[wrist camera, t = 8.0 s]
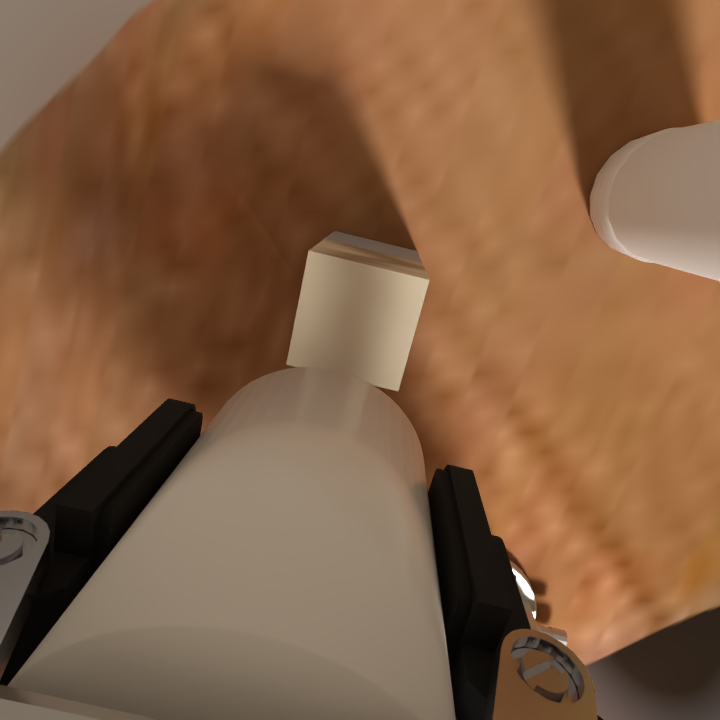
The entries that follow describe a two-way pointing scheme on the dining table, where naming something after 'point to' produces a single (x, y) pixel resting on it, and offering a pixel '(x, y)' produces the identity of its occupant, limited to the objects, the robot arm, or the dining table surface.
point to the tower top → (357, 312)
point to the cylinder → (270, 573)
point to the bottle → (663, 199)
